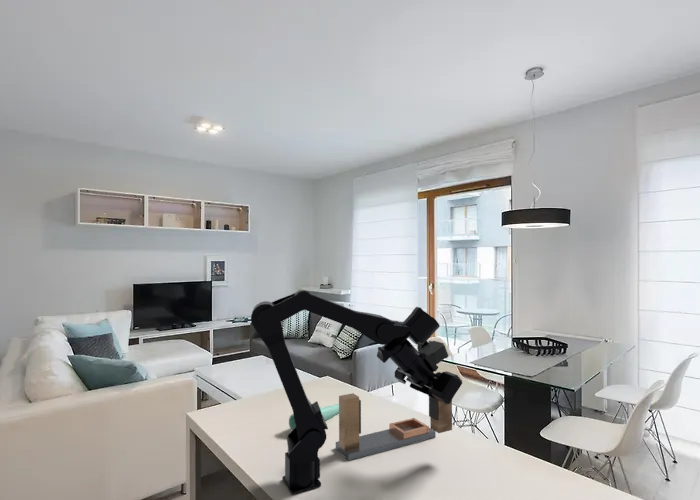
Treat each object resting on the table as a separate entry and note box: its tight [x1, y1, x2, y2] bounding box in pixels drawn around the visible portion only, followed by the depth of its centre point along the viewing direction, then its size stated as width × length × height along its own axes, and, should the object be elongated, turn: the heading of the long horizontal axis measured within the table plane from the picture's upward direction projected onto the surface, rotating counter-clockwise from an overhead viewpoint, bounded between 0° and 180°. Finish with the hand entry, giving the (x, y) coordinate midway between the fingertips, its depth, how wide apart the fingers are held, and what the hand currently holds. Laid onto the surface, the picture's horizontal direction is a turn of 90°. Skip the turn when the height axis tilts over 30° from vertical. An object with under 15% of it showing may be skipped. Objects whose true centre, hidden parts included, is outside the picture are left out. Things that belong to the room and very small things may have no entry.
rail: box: [335, 392, 437, 461], centre depth 100 cm, size 26×7×14 cm, turn 118°
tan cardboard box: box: [428, 388, 453, 434], centre depth 92 cm, size 5×3×12 cm, turn 117°
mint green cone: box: [288, 403, 339, 432], centre depth 116 cm, size 5×6×27 cm
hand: (445, 400), depth 93 cm, fingers closed on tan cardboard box, 3 cm apart
